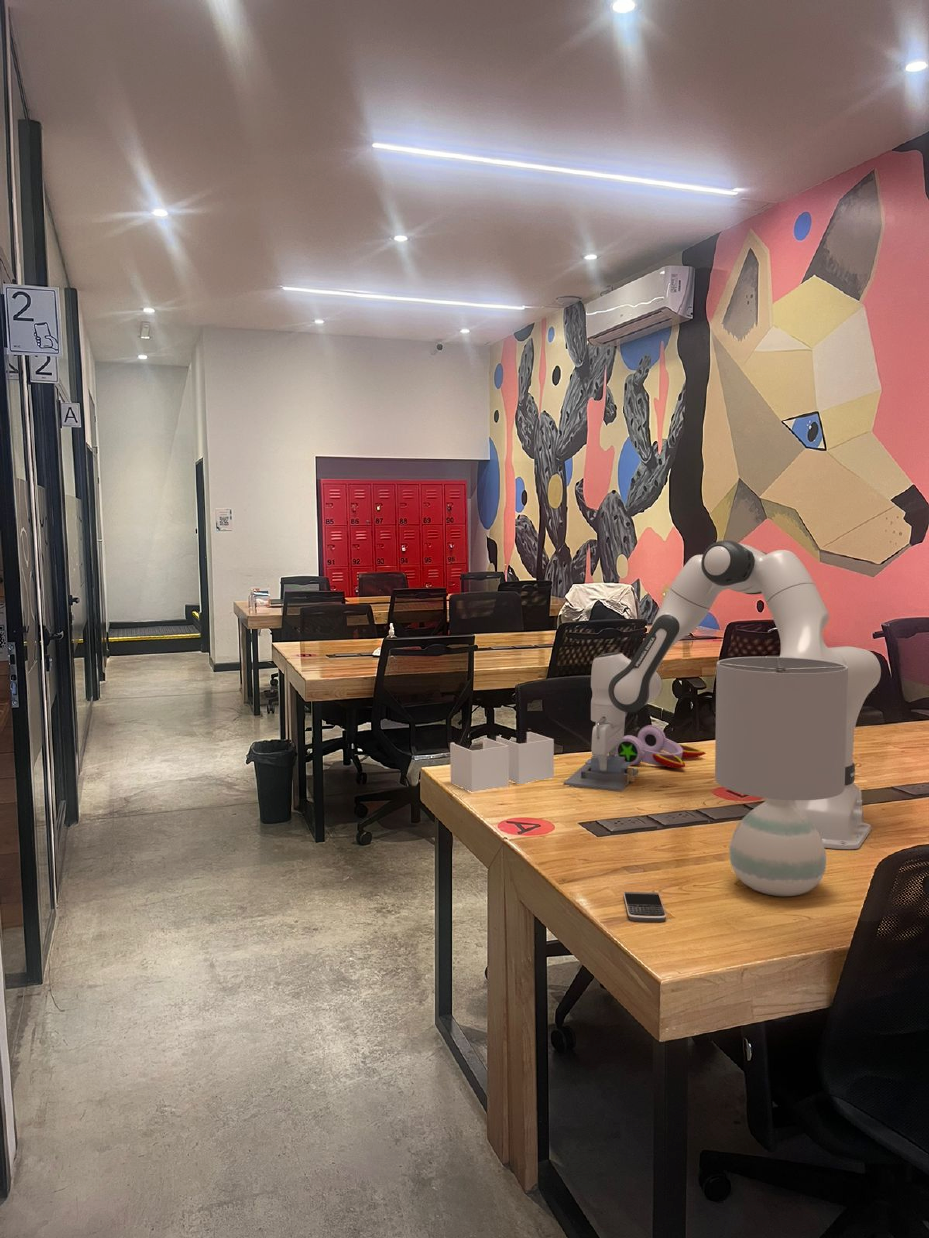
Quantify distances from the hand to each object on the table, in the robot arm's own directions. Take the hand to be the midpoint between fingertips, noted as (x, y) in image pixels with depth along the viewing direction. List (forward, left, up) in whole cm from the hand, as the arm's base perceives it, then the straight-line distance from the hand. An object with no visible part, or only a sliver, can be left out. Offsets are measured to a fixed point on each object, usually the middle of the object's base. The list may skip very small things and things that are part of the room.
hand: (607, 765), depth 230 cm
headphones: (+25, -9, -4) cm, 26 cm away
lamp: (-60, -46, -4) cm, 76 cm away
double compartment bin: (-12, +25, -4) cm, 28 cm away
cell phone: (-78, -26, -4) cm, 82 cm away
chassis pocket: (0, +1, -4) cm, 4 cm away
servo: (0, 0, -4) cm, 4 cm away
